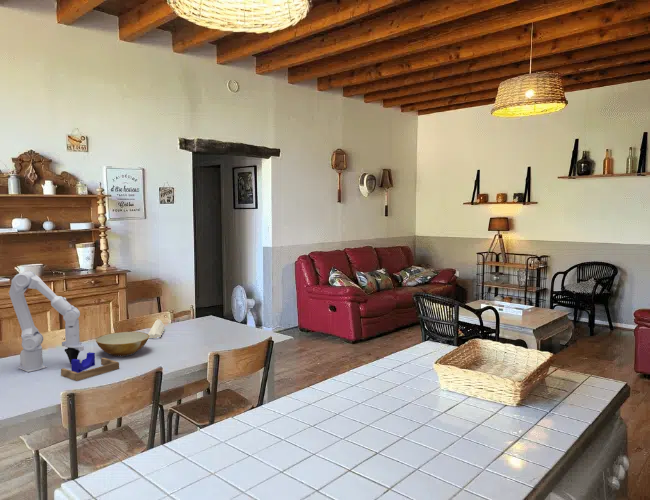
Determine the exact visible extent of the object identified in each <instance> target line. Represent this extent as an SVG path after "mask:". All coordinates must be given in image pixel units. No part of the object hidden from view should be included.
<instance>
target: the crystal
mask: <svg viewBox="0 0 650 500" xmlns="http://www.w3.org/2000/svg"><path fill="white" fill-rule="evenodd" d="M164 328H165V329H166V327H165V323H163V321H162V320H161V319H159V318H157V319H156V320H155V322H154V323H153V325H152V327H151V328H150V330H149V332H148V333H147V334H148V335H149V338H157V337H161V335H162V333H163V334H164V332H165V330H164ZM163 331H164V332H163ZM162 336H163V335H162ZM149 338H148V339H149ZM161 338H162V337H161Z"/></svg>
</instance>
